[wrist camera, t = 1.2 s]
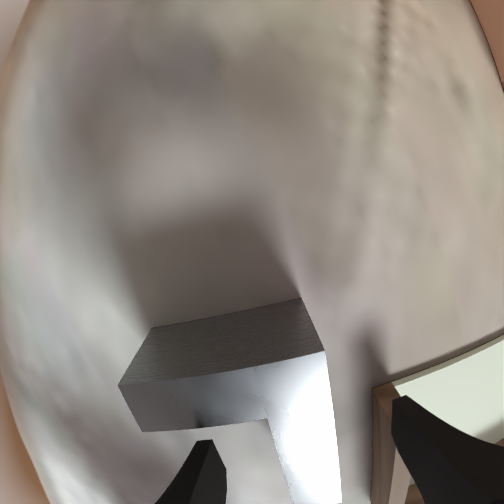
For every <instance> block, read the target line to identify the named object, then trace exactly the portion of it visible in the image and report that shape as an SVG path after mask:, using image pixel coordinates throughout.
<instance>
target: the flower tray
mask: <svg viewBox="0 0 504 504" xmlns="http://www.w3.org/2000/svg"><path fill="white" fill-rule="evenodd" d="M470 1H471V3H472V5H473V8H474V10H475V12H476V14H477V16H478V19H479V21H480V23H481V26H482V28H483V31H484V33H485V36H486V38H487V41H488V43H489V46H490V49H491V51H492V54H493V57H494V60H495V63H496V66H497V69H498V72H499V76H500V79H501V82H502V86H503V89H504V0H470Z"/></svg>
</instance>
